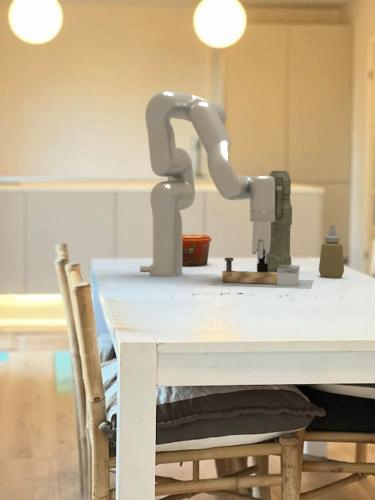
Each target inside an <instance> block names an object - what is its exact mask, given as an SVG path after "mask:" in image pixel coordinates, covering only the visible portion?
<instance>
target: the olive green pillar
mask: <svg viewBox="0 0 375 500" xmlns="http://www.w3.org/2000/svg"><path fill="white" fill-rule="evenodd" d="M271 171H272V172H269V175H268V176H272V177H273V178H274V179H275V221H273V222H271V245H270V252H269V253H268V254H267V264H268V272H277V268H278V266H279V265H292V258H291V226H292V225H293V207H292V203H291V188H292V186H291V184H292V180H291V176H290V172H287V170H271Z"/></svg>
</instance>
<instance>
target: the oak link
mask: <svg viewBox="0 0 375 500" xmlns="http://www.w3.org/2000/svg"><path fill="white" fill-rule="evenodd" d="M224 261H225V262H226V265H225V267H226V268H225V269H226V270H223V271H222V273H221V274H222V275H221V277H222V281H223V282H245V283H272V284H277V272H257V271H244V270H243V271H242V270H241V271H240V270H233V267H232V264H233V263H232V262H233V261H234V257H224ZM299 278H300V274H299V272H298V283H299V280H300V279H299Z"/></svg>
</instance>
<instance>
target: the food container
mask: <svg viewBox="0 0 375 500" xmlns="http://www.w3.org/2000/svg"><path fill="white" fill-rule="evenodd" d="M211 242H212V238H211V236H210V235H207V234H182V267H203V266H204V265H205V266H207V265H208V259H209V252H210V244H211ZM205 266H204V267H205Z"/></svg>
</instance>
